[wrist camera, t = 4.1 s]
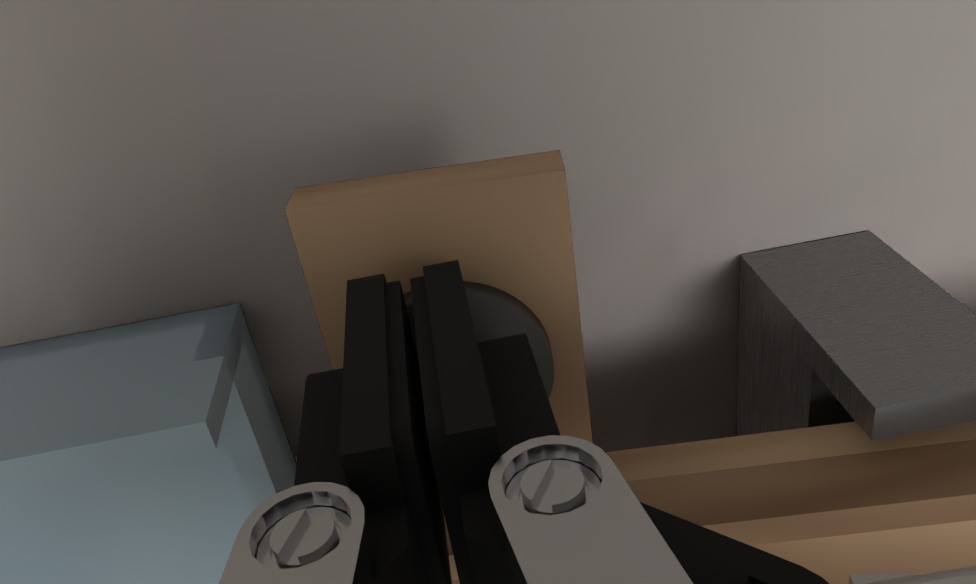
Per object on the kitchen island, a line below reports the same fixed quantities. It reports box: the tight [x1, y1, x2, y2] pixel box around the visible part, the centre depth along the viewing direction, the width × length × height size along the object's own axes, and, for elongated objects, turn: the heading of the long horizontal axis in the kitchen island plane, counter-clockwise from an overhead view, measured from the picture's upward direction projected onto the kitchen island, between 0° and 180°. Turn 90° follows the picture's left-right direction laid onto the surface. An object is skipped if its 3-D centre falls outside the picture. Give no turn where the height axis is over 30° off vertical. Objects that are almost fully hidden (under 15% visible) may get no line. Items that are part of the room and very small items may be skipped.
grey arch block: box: [737, 231, 976, 441], centre depth 18 cm, size 9×3×6 cm, turn 8°
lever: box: [275, 150, 976, 584], centre depth 14 cm, size 13×24×4 cm, turn 98°
